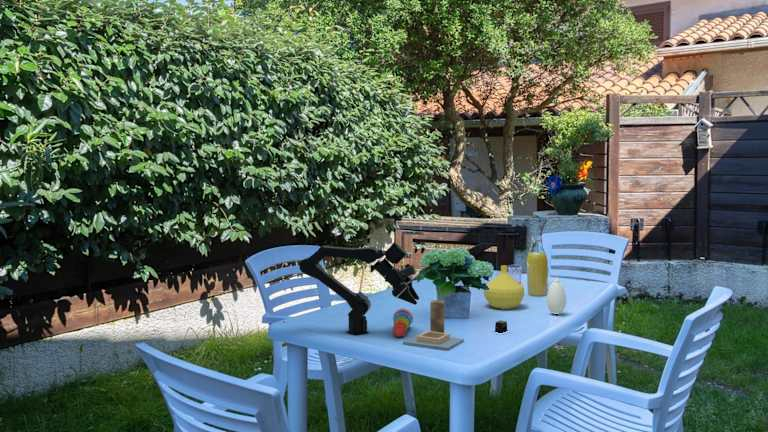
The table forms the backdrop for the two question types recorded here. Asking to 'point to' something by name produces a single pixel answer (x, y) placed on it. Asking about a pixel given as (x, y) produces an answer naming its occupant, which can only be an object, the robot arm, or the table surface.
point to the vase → (504, 291)
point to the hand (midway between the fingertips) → (417, 301)
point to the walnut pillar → (437, 316)
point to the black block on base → (501, 326)
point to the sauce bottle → (556, 297)
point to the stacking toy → (402, 321)
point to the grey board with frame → (434, 340)
